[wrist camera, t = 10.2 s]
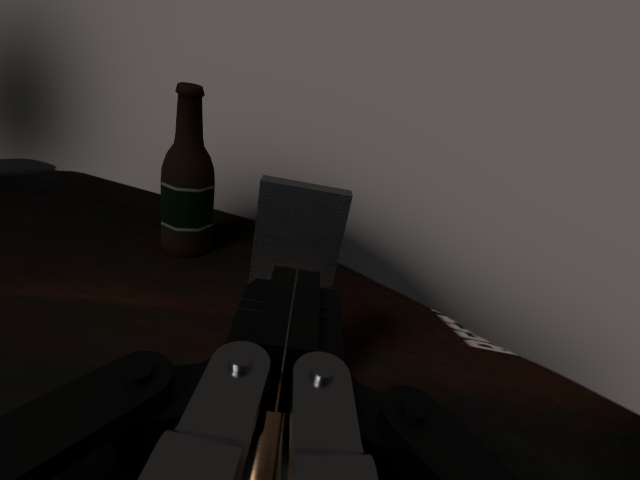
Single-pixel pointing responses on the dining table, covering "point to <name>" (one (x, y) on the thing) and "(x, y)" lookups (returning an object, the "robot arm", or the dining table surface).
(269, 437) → the pipe
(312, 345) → the robot arm
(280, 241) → the grey l-shaped bracket
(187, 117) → the beer bottle
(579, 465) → the dining table surface
